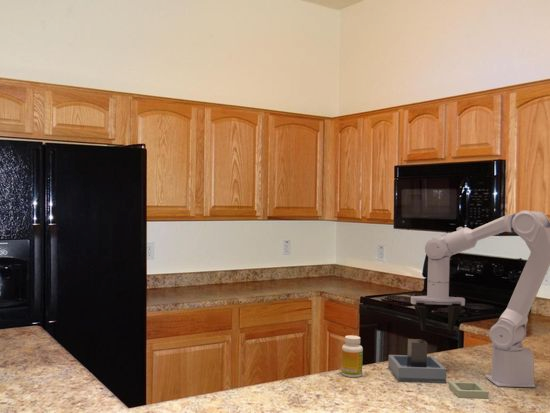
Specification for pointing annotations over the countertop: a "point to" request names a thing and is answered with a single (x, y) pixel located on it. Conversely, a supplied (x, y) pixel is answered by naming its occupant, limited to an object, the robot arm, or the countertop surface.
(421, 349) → the dark wooden post
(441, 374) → the tray
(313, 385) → the countertop surface
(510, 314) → the robot arm
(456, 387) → the holder
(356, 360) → the supplement bottle
